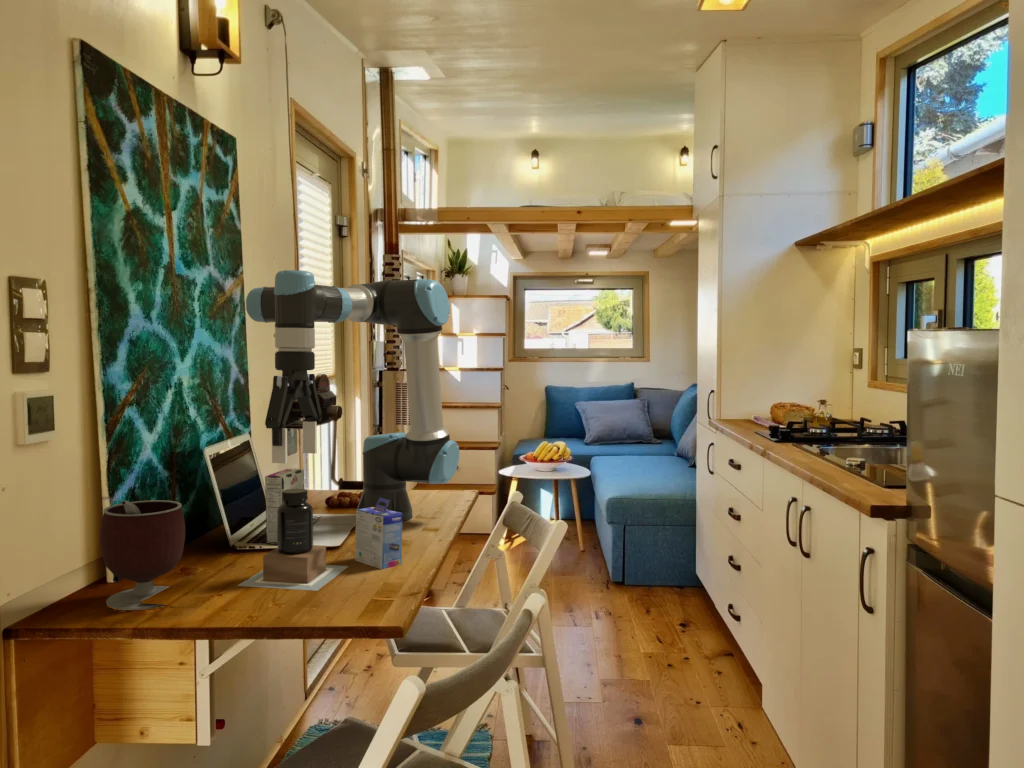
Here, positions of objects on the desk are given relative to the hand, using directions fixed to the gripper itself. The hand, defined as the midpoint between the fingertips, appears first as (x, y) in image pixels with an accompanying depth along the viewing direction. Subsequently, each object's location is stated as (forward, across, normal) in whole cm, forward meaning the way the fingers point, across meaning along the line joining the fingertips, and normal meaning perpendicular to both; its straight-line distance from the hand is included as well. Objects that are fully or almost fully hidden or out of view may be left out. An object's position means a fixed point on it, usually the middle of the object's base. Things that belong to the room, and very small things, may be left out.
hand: (295, 458), depth 148 cm
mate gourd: (+25, +16, -22) cm, 37 cm away
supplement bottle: (+19, 0, 0) cm, 19 cm away
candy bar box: (+25, -31, -17) cm, 43 cm away
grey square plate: (+25, 0, 0) cm, 25 cm away
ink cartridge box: (+25, -12, +13) cm, 30 cm away
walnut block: (+23, 0, 0) cm, 23 cm away
